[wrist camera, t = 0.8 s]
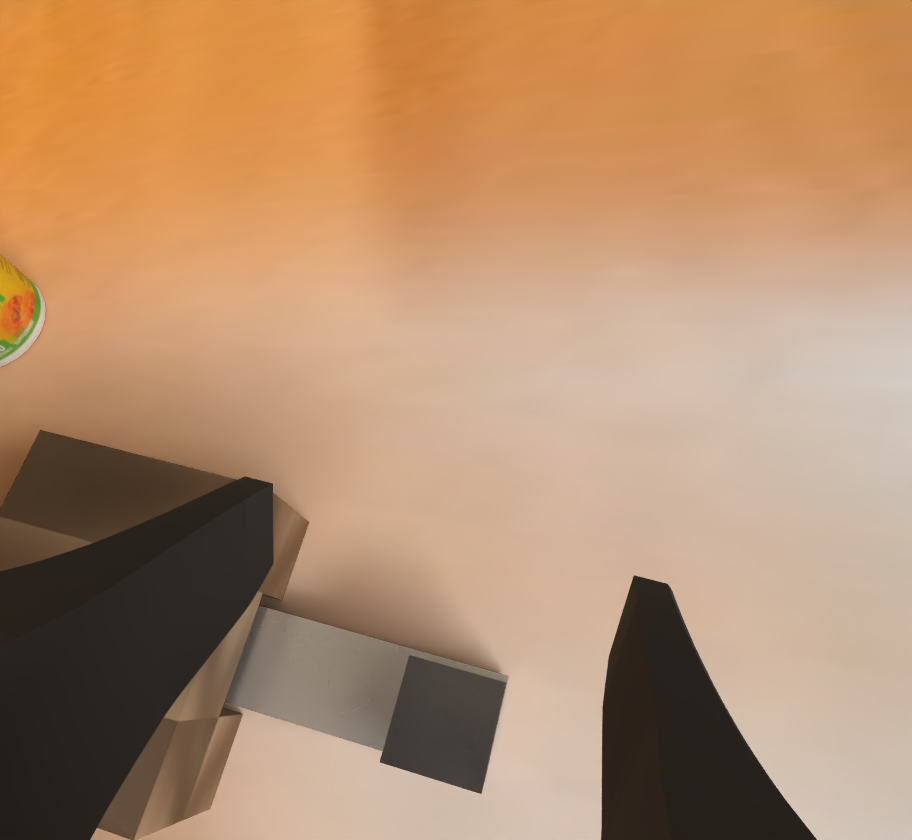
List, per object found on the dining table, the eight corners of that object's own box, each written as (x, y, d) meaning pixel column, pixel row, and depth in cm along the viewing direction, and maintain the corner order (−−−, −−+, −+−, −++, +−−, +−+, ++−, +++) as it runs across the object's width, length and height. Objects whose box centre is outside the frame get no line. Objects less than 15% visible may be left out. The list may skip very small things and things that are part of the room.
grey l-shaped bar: (485, 776, 25) (479, 803, 19) (-76, 604, 28) (-219, 583, 23) (508, 676, 26) (508, 673, 20) (-34, 523, 29) (-160, 485, 24)
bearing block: (209, 808, 25) (133, 840, 20) (-1, 737, 26) (-122, 750, 21) (308, 522, 29) (265, 487, 24) (119, 473, 30) (40, 430, 25)
